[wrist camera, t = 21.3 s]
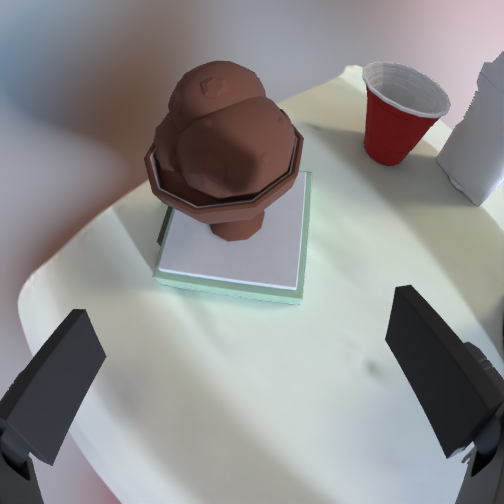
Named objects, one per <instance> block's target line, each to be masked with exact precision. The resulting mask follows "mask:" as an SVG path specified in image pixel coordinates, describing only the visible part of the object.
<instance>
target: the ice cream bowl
mask: <svg viewBox="0 0 504 504" xmlns="http://www.w3.org/2000/svg"><path fill="white" fill-rule="evenodd" d="M168 107H169V111H170V112H169V113H168V114H167V115H166V117H165V118H164V120H163V121H162V123H161V124H160V125H159V126H158V127H157V128H156V133H155V137H154V142H153V144H152V146H151V147H150V149H149V151H148V152H147V154H146V156H145V158H144V160H145V164H146V168H147V173H148V177H149V181H150V185H151V189H152V192H153V194H154V195H155V196H156V197H158V198H159V199H160V200H161V201H162V202H163V203H165V204H167V205H169V206H171V207H172V208H174V209H176V210H178V211H180V212H182V213H184V214H186V215H188V216H190V217H192V218H194V219H195V220H197V221H199V222H201V223H205V224H209V225H210V228H211V230H212V233H213V234H215V235H217V236H219V237H220V238H222V239H224V240H226V241H228V242H230V241H239V240H247V239H249V238H250V237H251V236H252V235H254V234H255V233H256V232H257V231H258V230H260V229H261V228H262V224H263V219H264V215H265V211H264V209H266V208H267V207H268V206H270V205H271V204H272V203H273V202H275V201H276V200H277V199H279V198H280V197H281V196H283V195H284V194H285V193H286V192H287V191H288V190H290V189H291V188H292V186H293V184H294V182H295V180H296V178H297V176H298V171H299V165H300V159H301V153H302V147H303V140H304V138H303V136H302V135H301V134H300V133H299V131H298V130H297V129H296V128H295V127H294V125H293V124H292V123H291V120H290V119H289V117H288V115H287V114H286V113H285V112H284V111H283V110H282V109H279V108H278V107H277V105H276V104H275V103H274V102H273V101H272V100H270V99H268V98H266V95H265V89H264V87H263V85H262V83H261V81H260V80H259V78H258V77H257V75H256V74H255V72H253V71H251V70H249V69H247V68H245V67H242V66H240V65H238V64H235V63H233V62H230V61H213V62H209V63H206V64H203V65H200V66H198V67H196V68H194V69H192V70H191V71H189V72H187V73H185V74H184V76H183V78H182V79H181V80H180V81H179V82H178V84H177V86H176V88H175V89H174V91H173V93H172V95H171V97H170V101H169V105H168Z"/></svg>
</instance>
